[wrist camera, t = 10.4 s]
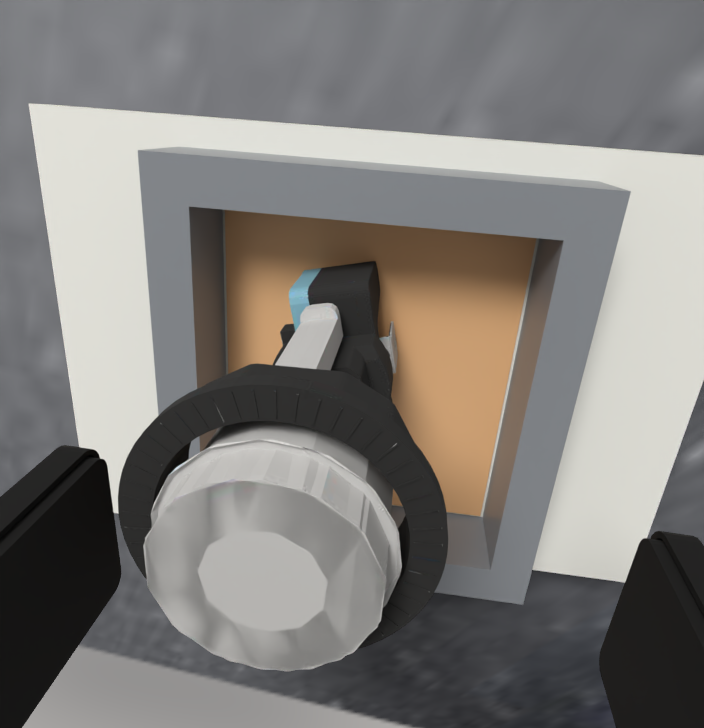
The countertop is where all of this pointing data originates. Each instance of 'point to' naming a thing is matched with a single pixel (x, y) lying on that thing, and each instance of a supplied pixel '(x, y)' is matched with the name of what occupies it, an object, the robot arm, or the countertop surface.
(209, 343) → the dock board
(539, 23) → the countertop surface
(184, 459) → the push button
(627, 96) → the countertop surface
